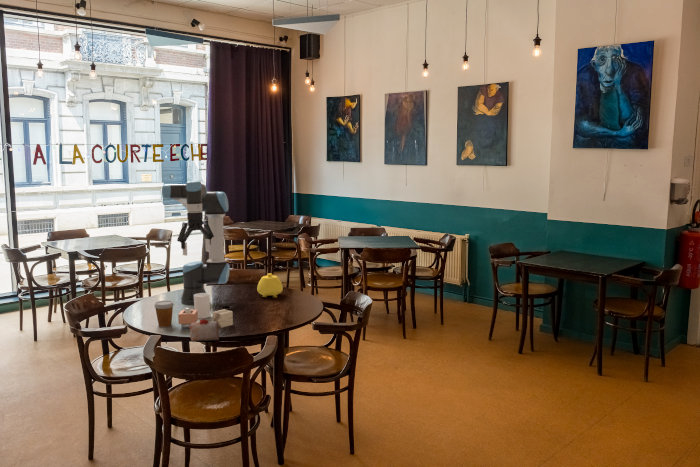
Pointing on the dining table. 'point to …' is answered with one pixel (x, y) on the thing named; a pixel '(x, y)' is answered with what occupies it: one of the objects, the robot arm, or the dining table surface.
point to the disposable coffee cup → (164, 313)
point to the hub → (186, 326)
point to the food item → (204, 330)
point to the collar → (188, 317)
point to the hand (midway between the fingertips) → (196, 253)
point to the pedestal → (223, 317)
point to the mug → (202, 305)
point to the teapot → (269, 285)
